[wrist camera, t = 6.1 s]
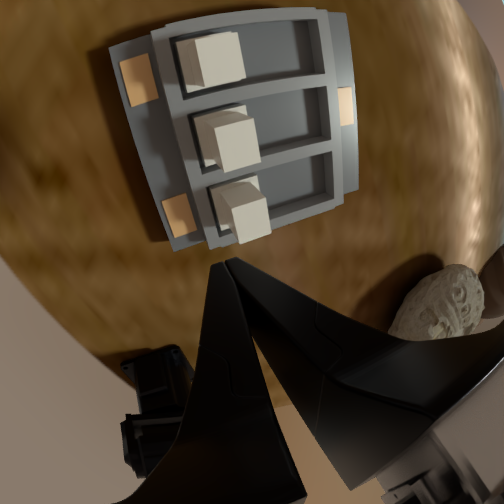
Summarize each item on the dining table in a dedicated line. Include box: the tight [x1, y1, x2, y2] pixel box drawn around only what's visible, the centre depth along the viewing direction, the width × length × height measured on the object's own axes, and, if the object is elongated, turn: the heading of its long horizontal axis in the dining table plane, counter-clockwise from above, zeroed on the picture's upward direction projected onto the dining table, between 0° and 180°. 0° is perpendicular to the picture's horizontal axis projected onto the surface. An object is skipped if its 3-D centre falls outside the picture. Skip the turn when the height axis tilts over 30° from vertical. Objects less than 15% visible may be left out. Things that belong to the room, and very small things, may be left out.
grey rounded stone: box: [388, 264, 485, 341], centre depth 37 cm, size 18×18×10 cm
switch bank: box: [109, 7, 358, 252], centre depth 18 cm, size 14×15×3 cm
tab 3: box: [208, 172, 271, 244], centre depth 18 cm, size 3×3×4 cm
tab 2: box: [191, 103, 261, 173], centre depth 16 cm, size 3×3×4 cm
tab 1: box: [174, 31, 246, 93], centre depth 13 cm, size 3×3×4 cm
